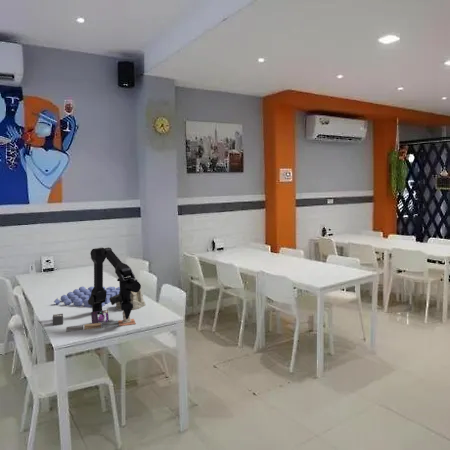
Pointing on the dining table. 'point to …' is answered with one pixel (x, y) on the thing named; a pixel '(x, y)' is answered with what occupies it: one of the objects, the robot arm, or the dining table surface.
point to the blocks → (86, 296)
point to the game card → (101, 317)
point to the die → (57, 319)
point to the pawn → (125, 319)
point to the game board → (99, 325)
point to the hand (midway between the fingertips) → (126, 317)
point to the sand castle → (134, 300)
